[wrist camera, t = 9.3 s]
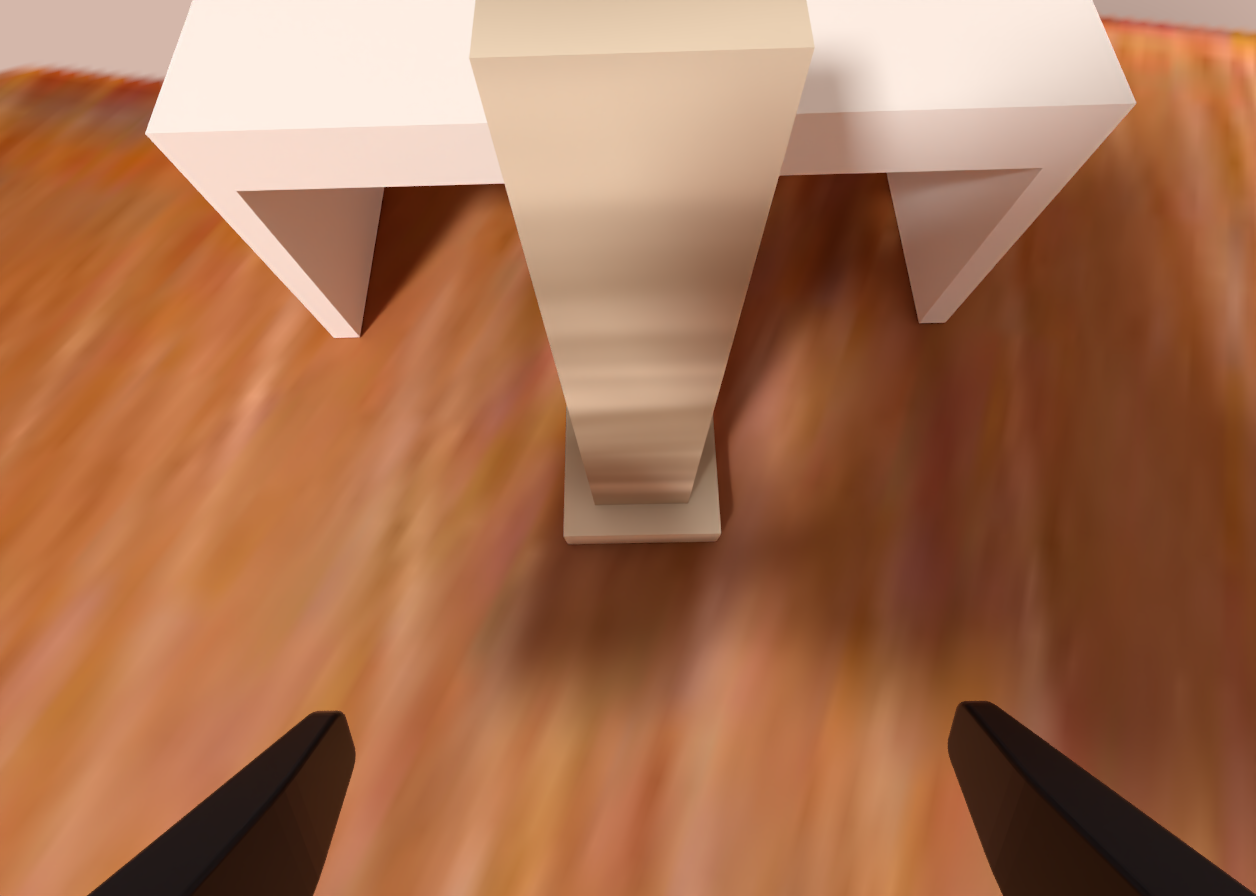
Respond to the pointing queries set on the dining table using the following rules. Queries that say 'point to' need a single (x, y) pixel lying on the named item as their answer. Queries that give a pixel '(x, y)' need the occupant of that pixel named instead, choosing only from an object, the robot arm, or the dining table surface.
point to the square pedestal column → (640, 224)
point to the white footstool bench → (464, 154)
